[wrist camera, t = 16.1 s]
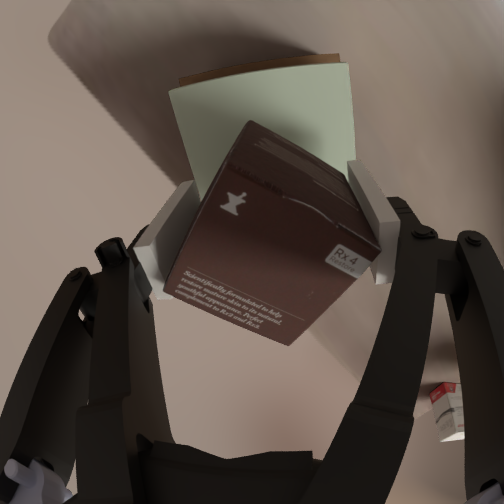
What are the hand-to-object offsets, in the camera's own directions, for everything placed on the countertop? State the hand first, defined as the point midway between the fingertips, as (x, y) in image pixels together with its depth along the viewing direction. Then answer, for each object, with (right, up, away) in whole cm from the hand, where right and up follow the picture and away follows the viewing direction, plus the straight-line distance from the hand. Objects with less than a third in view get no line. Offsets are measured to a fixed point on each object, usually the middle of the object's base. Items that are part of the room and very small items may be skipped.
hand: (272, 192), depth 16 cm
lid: (0, +2, +3) cm, 3 cm away
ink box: (+40, -32, +33) cm, 60 cm away
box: (0, 0, 0) cm, 1 cm away
